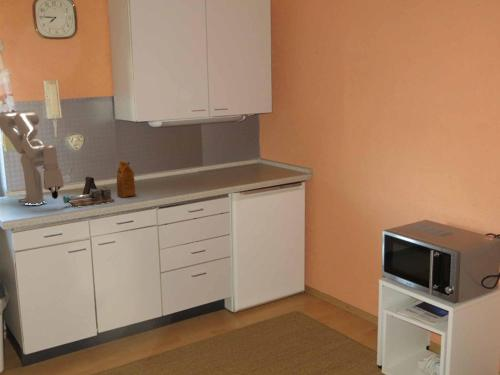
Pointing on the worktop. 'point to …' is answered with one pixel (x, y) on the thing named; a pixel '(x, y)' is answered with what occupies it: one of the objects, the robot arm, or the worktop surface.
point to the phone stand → (89, 185)
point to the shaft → (77, 197)
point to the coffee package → (125, 180)
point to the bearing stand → (95, 198)
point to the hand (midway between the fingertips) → (55, 198)
